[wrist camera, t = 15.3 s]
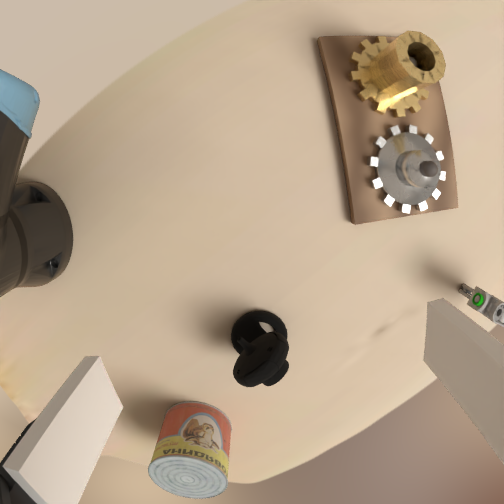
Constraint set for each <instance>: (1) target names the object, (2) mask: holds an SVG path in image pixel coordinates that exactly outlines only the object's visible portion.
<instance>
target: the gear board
mask: <svg viewBox="0 0 504 504" xmlns="http://www.w3.org/2000/svg"><path fill="white" fill-rule="evenodd" d="M377 37H378V36H325V37H319V38H318V40H317V43H318V47H319V50H320V54H321V58H322V62H323V66H324V70H325V75H326V79H327V83H328V88H329V92H330V97H331V101H332V106H333V111H334V116H335V121H336V126H337V131H338V137H339V142H340V148H341V154H342V160H343V166H344V172H345V179H346V185H347V192H348V200H349V207H350V215H351V223H353V224H355V225H356V224H362V223H368V222H374V221H380V220H386V219H392V218H398V217H404V216H410V215H416V214H422V213H428V212H435V211H441V210H447V209H453V208H458V197H457V185H456V175H455V166H454V158H453V151H452V144H451V137H450V131H449V126H448V120H447V115H446V110H445V105H444V101H443V96H442V92H441V87H440V83H439V81H437V82H436V83H434V84H432V85H430V86H427V87H425V88H424V89H425V90H427V91H429V95H428V99H426V100H422V99H420V100H419V101H417V102H418V104H419V105H420V107H421V109H420V110H419V111H418V112H416V113H413V114H412V113H411V112H410V110H409V109H406V110H405V115H406V116H405V117H402V118H394V115H393V110H389V111H388V110H386V113H385V114H383V115H380V114H378V113H376V112H374V109H375V106H376V104H374V103H372V102H371V101H370V100H369V98H368V99H366V100H365V101H363V102H362V101H361V100H360V98H359V97H358V96H357V94H359V93H360V92H361V91H362V90H361V89H360V87H359V85H358V82H350V79H349V75H348V74H349V73H350V72H351V71H355V66H356V65H355V64H353V63H351V62H349V59H350V56H351V54H352V53H353V52H356V53H358V54H360V53H361V52H362V50H361V49H360V48H359V47H358V45H359V44H360V43H361V42H362V41H364V40H366V39H367V40H368V41H369V42H370V43H371V44H374V43H376V42H375V39H376V38H377ZM396 38H397V37H386V40H387V43H391V42H393V41H394V40H395V39H396ZM409 59H410V61H411V62H412V63H413V65H414V66H415V67H417V62H416V60H415V59H414V58H412V57H409ZM396 125H398V127H399V130H400V132H401V133H404V132H405V126H406V125H413V126H417V135H419V136H421V137H422V136H423V134H425V133H429V134H430V135H431V136H432V137H433V138H434V140H433V141H432V143H431V144H430V145H431V146H432V148H433V149H434V151H442V154H443V157H444V159H442V160H440V161H439V162H440V165H441V171H443V172H446V175H445V180H439V181H438V184H437V187H436V188H437V190H438V191H439V192H440V193H441V194H440V195H439V197H438V199H437V200H436V199H432V198H431V197H429V198H428V199H427V200H425V201H426V204H427V207H428V208H427V209H425V210H423V211H418V210H417V209H416V206H415V205H411V206H410V213H405V212H400V211H398V207H399V203H398V202H396V201H394V202H393V204H392V205H391V207H390V206H386V205H385V204H384V203H383V202H382V201H381V198H382V197H383V196H384V194H385V193H384V192H383V191H382V189H381V187H379V188H377V189H372V186H371V184H370V181H369V180H371V179H373V178H375V177H376V174H375V167H372V166H367V159H368V157H370V156H372V157H376V154H377V151H378V148H377V147H376V146H375V145H373V144H372V143H373V142H374V140H375V139H376V137H378V136H381V137H382V138H384V139H385V140H386V139H387V138H389V137H390V136H389V133H388V131H387V129H388V128H390V127H393V126H396ZM419 170H420V173H421V174H422V175H423V176H425V177H434V176H435V175H436V174H437V172H438V167H437V165H436V163H435V162H433V161H423V162H421V164H420V166H419Z"/></svg>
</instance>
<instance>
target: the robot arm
mask: <svg viewBox="0 0 504 504" xmlns="http://www.w3.org/2000/svg"><path fill="white" fill-rule="evenodd" d="M39 103H40V99H39V95H38V93H37V91H36V90H35V89H34V88H33V87H32V86H31V85H29V84H27V83H26V82H24V81H22V80H20V79H19V78H17V77H15V76H13V75H11V74H9V73H7V72H5V71H3V70H1V69H0V297H1V296H3V295H4V294H6V293H7V292H9V291H10V290H12V289H14V288H16V287H37V286H42V285H45V284H47V283H49V282H51V281H52V280H54V279H56V278H57V277H58V276H59V275H61V273H62V272H63V271H64V270H65V268H66V266H67V265H68V262H69V260H70V257H71V253H72V247H73V231H72V225H71V220H70V217H69V214H68V211H67V209H66V207H65V205H64V203H63V201H62V200H61V198H60V197H59V196H58V195H57V193H56V192H55V191H53V190H52V189H51V188H50V187H48V186H46V185H44V184H42V183H38V182H28V183H21V184H18V185H15V184H16V180H17V177H18V173H19V169H20V166H21V163H22V159H23V156H24V153H25V150H26V146H27V143H28V140H29V139H30V138H31V135H32V133H31V130H32V127H33V123H34V120H35V117H36V114H37V111H38V108H39ZM424 362H425V363H426V364H427V365H428V366H429V368H430V369H431V370H432V371H433V373H434V374H435V375H436V376H437V377H438V379H439V380H440V381H441V382H442V384H443V385H444V386H445V387H446V389H447V390H448V391H449V392H450V394H451V395H452V396H453V397H454V399H455V400H456V401H457V403H458V404H459V405H460V406H461V408H462V409H463V410H464V411H465V413H466V414H467V415H468V417H469V418H470V419H471V421H472V422H473V423H474V424H475V426H476V427H477V429H478V430H479V431H480V433H481V434H482V435H483V437H484V438H485V439H486V441H487V442H488V443H489V445H490V446H491V447H492V449H493V450H494V452H495V453H496V454H497V456H498V457H499V459H500V460H501V461H502V463H503V464H504V345H503V344H502V343H501V342H500V341H498V340H497V339H496V338H495V337H493V336H492V335H491V334H490V333H488V332H487V331H486V330H485V329H483V328H482V327H481V326H479V325H478V324H477V323H476V322H474V321H473V320H472V319H470V318H469V317H468V316H466V315H465V314H464V313H462V312H461V311H460V310H458V309H457V308H456V307H454V306H453V305H452V304H450V303H449V302H448V301H446V300H445V299H444V298H442V299H438V300H435V301H431V302H428V303H427V324H426V339H425V350H424ZM122 409H123V406H122V404H121V402H120V400H119V398H118V395H117V393H116V391H115V389H114V387H113V385H112V383H111V381H110V378H109V376H108V374H107V372H106V369H105V367H104V365H103V362H102V360H101V358H100V356H89V357H85V358H84V359H83V360H82V361H81V362H80V364H79V365H78V366H77V367H76V369H75V370H74V371H73V372H72V374H71V375H70V376H69V377H68V379H67V380H66V381H65V382H64V384H63V385H62V386H61V387H60V389H59V390H58V391H57V393H56V394H55V395H54V396H53V398H52V399H51V400H50V402H49V403H48V404H47V406H46V407H45V408H44V409H43V411H42V412H41V413H40V415H39V416H38V417H37V418H36V419H35V420H34V421H33V422H31V423H30V424H29V425H28V426H27V427H26V428H25V429H24V431H23V432H22V433H21V436H19V438H18V439H17V440H16V444H15V443H14V444H13V446H12V447H11V448H10V450H9V451H8V453H7V454H6V456H5V457H4V458H3V460H2V461H1V463H0V504H78V503H79V500H80V498H81V496H82V494H83V491H84V489H85V487H86V485H87V482H88V480H89V478H90V476H91V473H92V471H93V469H94V467H95V465H96V463H97V461H98V459H99V456H100V454H101V452H102V450H103V448H104V446H105V444H106V442H107V440H108V438H109V435H110V433H111V431H112V429H113V427H114V425H115V423H116V421H117V419H118V417H119V415H120V413H121V411H122Z"/></svg>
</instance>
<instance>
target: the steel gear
mask: <svg viewBox="0 0 504 504" xmlns="http://www.w3.org/2000/svg"><path fill="white" fill-rule="evenodd" d="M387 131H388V133H389V136H390V137H389V138H387V139H386V140H385V139H384V138H382V137H381V136H378V137H376V139H375V140H374V142H373V143H372V144H373V145H375V146H376V147H377V148H378V151H377V154H376V157H372V156H370V157H368V159H367V166H372V167H375V174H376V177H375V178H373V179H371V180H369V181H370V184H371V186H372V189H377V188H379V187H381V189H382V191H383V192H384V193H385V194H384V196H383V197H382V198H381V201H382V202H383V203H384V204H385V205H386V206H390V207H391V205H392V204H393V202H394V201H396V202H398V203H399V207H398V211H400V212H405V213H410V206H411V205H415V206H416V209H417V210H418V211H423V210H425V209H427V208H428V207H427V204H426V201H425V200H427V199H428V198H429V197H431V198H432V199H436V200H437V199H438V197H439V195H440V194H441V193H440V192H439V191H438V190H437V188H436V187H437V184H438V181H439V180H445V175H446V172H443V171H441V165H440V162H439V161H440V160H442V159H444V157H443V154H442V151H434V149H433V148H432V146H431V145H430V144H431V143H432V141H433V140H434V138H433V137H432V136H431V135H430V134H429V133H425V134H423V136H422V137H421V136H419V135H417V126H413V125H406V126H405V132H404V133H401V132H400V130H399V127H398V125H396V126H393V127H390V128H388V129H387ZM423 161H433V162H435V163H436V165H437V167H438V172H437V174H436V175H435V176H434V177H425V176H423V175H422V174H421V173H420V170H419V166H420V164H421V162H423Z"/></svg>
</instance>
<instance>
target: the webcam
mask: <svg viewBox="0 0 504 504" xmlns="http://www.w3.org/2000/svg"><path fill="white" fill-rule="evenodd" d="M259 322H265V323H268V324H270V325H271V326H272V327H273V328H274V329H275V330H276V332H268V333H266V332H265V331H264V330H263V329H262V328H261V326H260V324H259ZM231 340H232V344H233V346H234V348H235V350H236V351H237V352H238V353H239V354H240V356H239V357H238V359H237V361H236V363H235V366H234V369H233V375H234V378H235V379H236V381H237V382H238V383H239V384H241V385H243V386H246V387H254V386H256V385H259V384H261V383H263V384H264V385H266V386H271V385H274V384H276V383H277V382H278V381H280V380H281V379H282V378H283V377H284V375H285V374H286V372H287V371H288V368H289V363H288V361H286V360H285V359H286V357H287V354H288V351H289V345H288V341H287V329H286V327H285V324H284V323H283V322H282V320H281V319H280V318H279V317H277V316H276V315H274V314H272V313H269V312H265V311H254V312H250V313H247V314H245V315H244V316H242V317H241V318H240V319H239V320H238V321H237V322H236V323H235V324H234V326H233V329H232V333H231Z"/></svg>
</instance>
